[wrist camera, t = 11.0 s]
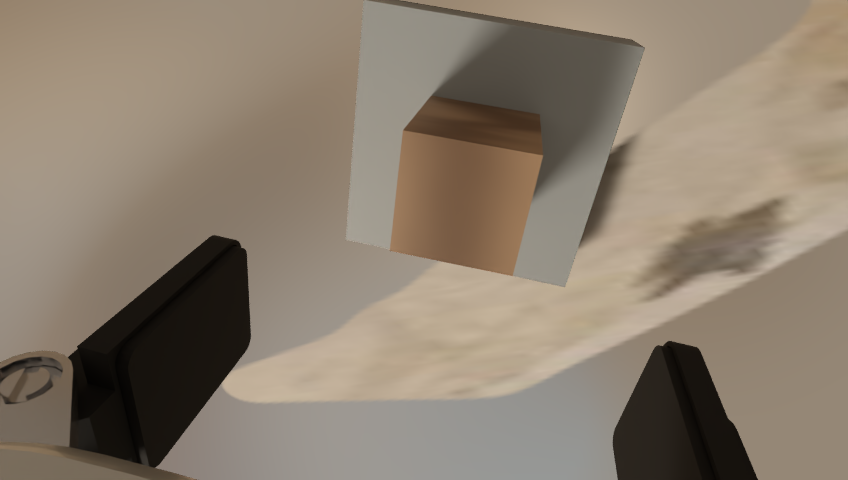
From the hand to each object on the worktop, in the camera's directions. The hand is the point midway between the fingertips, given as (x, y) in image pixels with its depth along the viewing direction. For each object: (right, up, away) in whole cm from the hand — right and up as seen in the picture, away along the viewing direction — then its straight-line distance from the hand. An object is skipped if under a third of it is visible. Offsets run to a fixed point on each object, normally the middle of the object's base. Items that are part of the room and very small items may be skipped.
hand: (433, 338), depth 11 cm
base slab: (+3, +8, +15) cm, 17 cm away
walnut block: (+2, +6, +13) cm, 14 cm away
